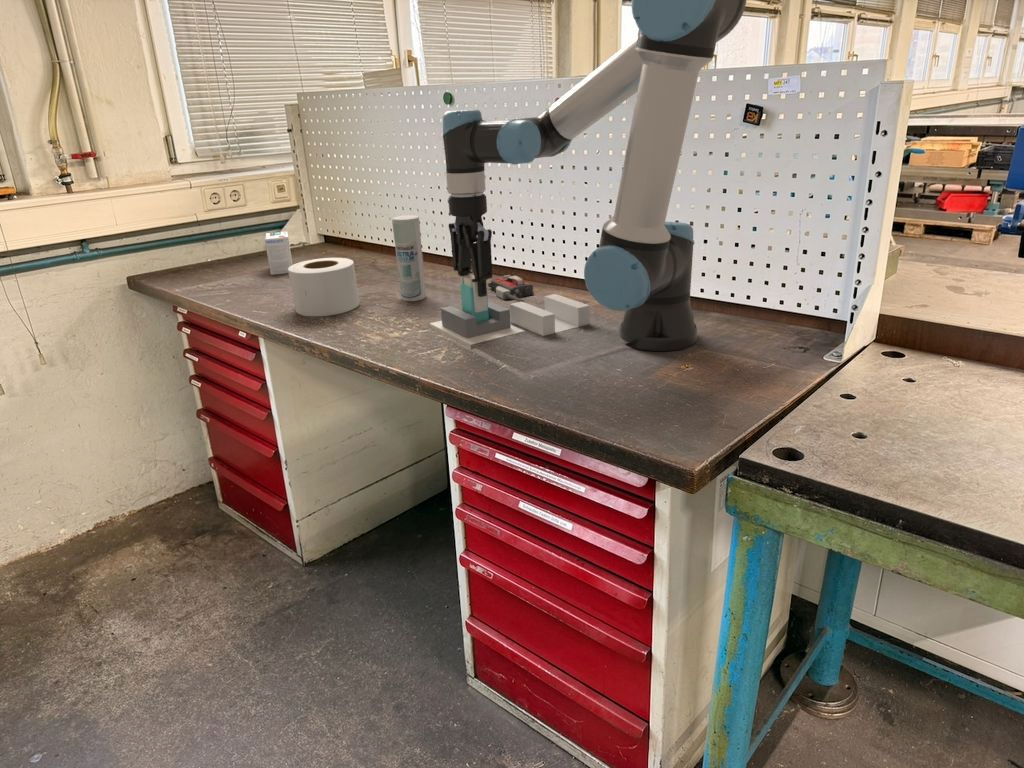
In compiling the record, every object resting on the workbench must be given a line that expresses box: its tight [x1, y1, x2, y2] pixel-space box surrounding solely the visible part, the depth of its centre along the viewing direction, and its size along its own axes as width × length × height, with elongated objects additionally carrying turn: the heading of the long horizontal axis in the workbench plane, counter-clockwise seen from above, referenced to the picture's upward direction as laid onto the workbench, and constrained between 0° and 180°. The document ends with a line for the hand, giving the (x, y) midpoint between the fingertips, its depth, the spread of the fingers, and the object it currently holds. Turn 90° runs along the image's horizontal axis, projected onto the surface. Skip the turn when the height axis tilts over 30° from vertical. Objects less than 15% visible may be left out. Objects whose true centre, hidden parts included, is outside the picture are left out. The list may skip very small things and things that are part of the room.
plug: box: [459, 274, 489, 322], centre depth 144 cm, size 4×4×10 cm
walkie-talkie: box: [487, 274, 534, 303], centre depth 172 cm, size 9×4×20 cm
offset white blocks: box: [509, 293, 591, 337], centre depth 146 cm, size 12×12×5 cm
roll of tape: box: [288, 257, 361, 317], centre depth 168 cm, size 16×15×11 cm
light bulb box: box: [264, 231, 294, 276], centre depth 209 cm, size 11×7×11 cm, turn 17°
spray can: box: [391, 214, 427, 302], centre depth 170 cm, size 6×6×20 cm
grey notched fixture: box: [429, 300, 525, 350], centre depth 146 cm, size 18×13×5 cm
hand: (474, 307), depth 145 cm, fingers open, 4 cm apart
